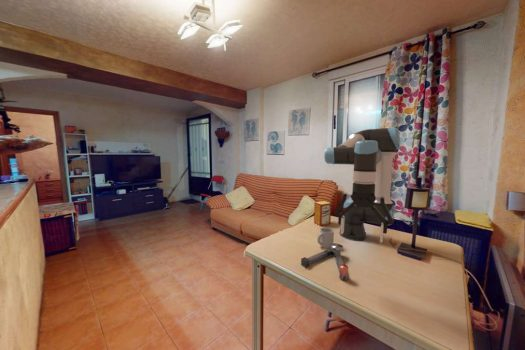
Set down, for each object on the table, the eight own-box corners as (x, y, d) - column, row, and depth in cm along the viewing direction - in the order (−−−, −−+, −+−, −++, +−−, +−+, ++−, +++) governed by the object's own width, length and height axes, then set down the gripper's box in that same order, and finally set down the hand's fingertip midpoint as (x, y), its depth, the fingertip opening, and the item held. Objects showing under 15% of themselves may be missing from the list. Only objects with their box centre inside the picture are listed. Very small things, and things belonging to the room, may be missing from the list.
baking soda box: (323, 221, 148) (324, 200, 146) (330, 224, 142) (331, 202, 140) (314, 223, 144) (314, 202, 142) (320, 226, 138) (321, 204, 136)
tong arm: (329, 252, 102) (330, 242, 102) (341, 253, 101) (341, 243, 101) (336, 279, 81) (337, 267, 80) (351, 281, 79) (352, 269, 79)
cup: (336, 246, 109) (336, 231, 108) (322, 250, 104) (322, 234, 103) (326, 241, 115) (327, 226, 114) (313, 244, 111) (313, 229, 110)
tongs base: (332, 251, 104) (332, 244, 103) (342, 256, 99) (342, 248, 98) (301, 265, 91) (301, 256, 91) (310, 271, 86) (311, 263, 86)
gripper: (404, 183, 70) (399, 241, 72) (332, 178, 84) (330, 227, 86) (405, 187, 64) (400, 249, 66) (327, 181, 77) (325, 232, 80)
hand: (360, 236), depth 76 cm, fingers open, 13 cm apart
